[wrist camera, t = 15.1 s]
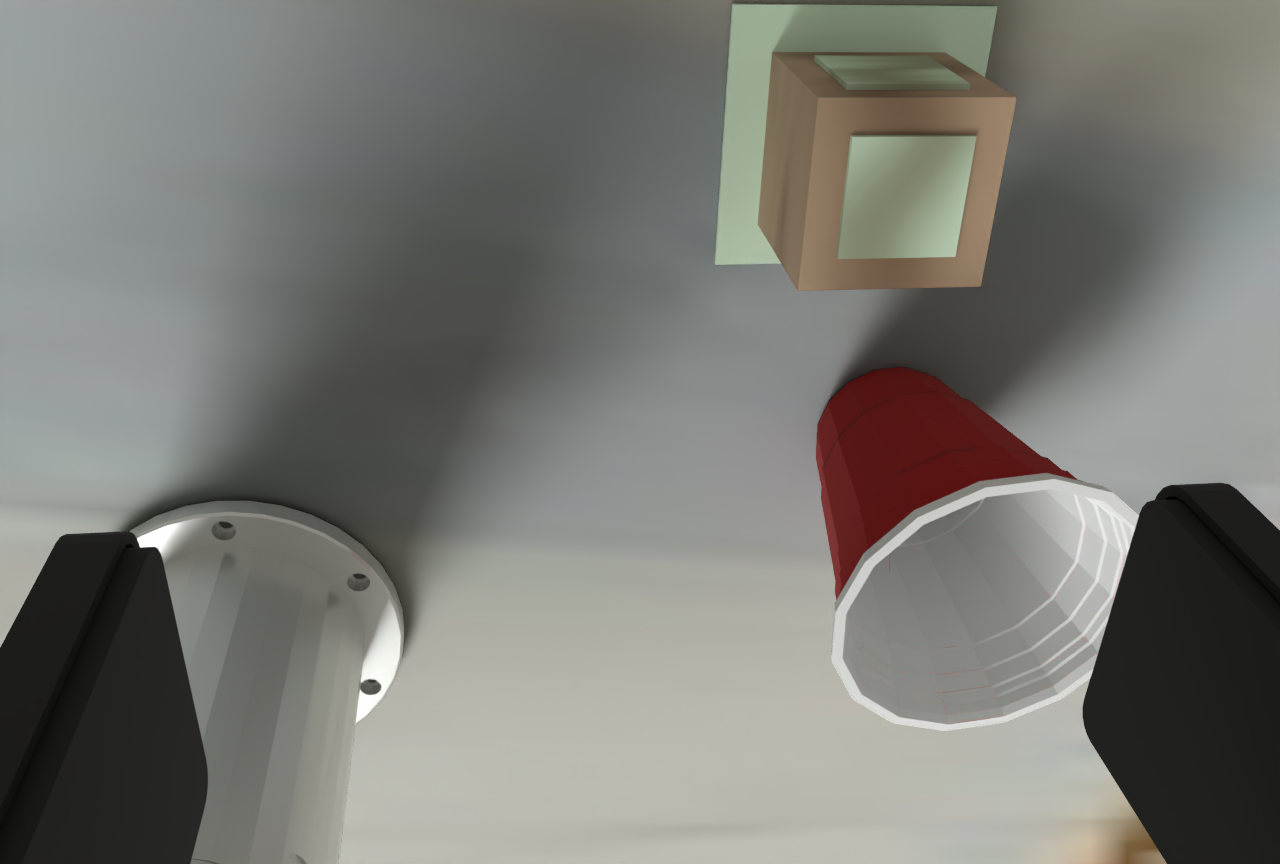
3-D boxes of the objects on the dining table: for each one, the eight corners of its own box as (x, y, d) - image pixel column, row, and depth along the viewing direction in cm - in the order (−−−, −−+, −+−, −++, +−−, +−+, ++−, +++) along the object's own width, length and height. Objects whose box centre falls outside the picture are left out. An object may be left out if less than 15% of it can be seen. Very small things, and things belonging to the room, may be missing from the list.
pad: (951, 258, 43) (952, 260, 43) (714, 262, 42) (715, 264, 42) (995, 6, 39) (997, 7, 39) (731, 3, 38) (732, 4, 37)
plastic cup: (780, 570, 50) (860, 783, 39) (728, 355, 44) (805, 538, 34) (1024, 502, 49) (1168, 697, 39) (1003, 277, 44) (1165, 436, 34)
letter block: (946, 47, 39) (1020, 92, 34) (918, 221, 42) (982, 288, 37) (772, 46, 38) (820, 93, 33) (757, 224, 41) (799, 292, 36)
